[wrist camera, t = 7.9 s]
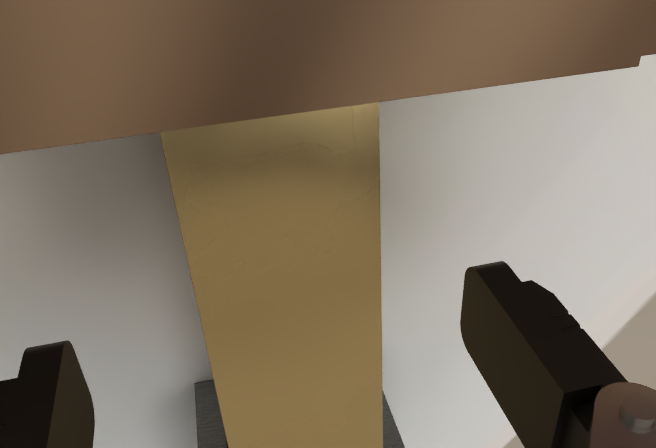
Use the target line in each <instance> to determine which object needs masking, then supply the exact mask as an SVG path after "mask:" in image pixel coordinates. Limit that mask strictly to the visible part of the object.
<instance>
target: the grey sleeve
mask: <svg viewBox="0 0 656 448" xmlns="http://www.w3.org/2000/svg"><path fill="white" fill-rule="evenodd" d="M195 401H196V420H197V440H198V448H229V447H228V442H227V438H226V433H225V429H224V424H223V420H222V415H221V411H220V406H219V401H218V397H217V392H216V388H215V383H214V380H211V381H206V382H201V383H196V384H195ZM382 403H383V448H405V447H404V444H403V442H402V439H401V436H400V434H399V431H398V429H397V426H396V424H395V421H394V418H393V416H392V413H391V411H390V408H389V405H388V403H387V400H386V398H385V395H384V393H383V390H382Z"/></svg>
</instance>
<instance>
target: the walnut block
mask: <svg viewBox="0 0 656 448" xmlns="http://www.w3.org/2000/svg"><path fill="white" fill-rule="evenodd" d="M651 54H656V0H0V154H5V153H12V152H20V151H27V150H34V149H41V148H49V147H56V146H63V145H70V144H78V143H85V142H92V141H99V140H107V139H114V138H121V137H128V136H136V135H143V134H150V133H157V132H165V131H172V130H179V129H187V128H194V127H201V126H208V125H216V124H223V123H230V122H237V121H245V120H252V119H259V118H266V117H274V116H281V115H288V114H295V113H303V112H310V111H317V110H324V109H332V108H339V107H346V106H354V105H361V104H368V103H375V102H383V101H390V100H397V99H404V98H412V97H419V96H426V95H433V94H441V93H448V92H455V91H462V90H470V89H477V88H484V87H492V86H499V85H506V84H513V83H521V82H528V81H535V80H542V79H550V78H557V77H564V76H571V75H579V74H586V73H593V72H600V71H608V70H615V69H622V68H629V67H637V66H639V62H640V57H641V56H644V55H651Z"/></svg>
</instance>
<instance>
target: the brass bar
mask: <svg viewBox="0 0 656 448" xmlns="http://www.w3.org/2000/svg"><path fill="white" fill-rule="evenodd" d="M160 137H161V141H162V146H163V150H164V155H165V160H166V164H167V169H168V173H169V178H170V182H171V187H172V192H173V196H174V201H175V205H176V210H177V214H178V219H179V223H180V228H181V233H182V237H183V242H184V246H185V251H186V255H187V260H188V265H189V269H190V274H191V278H192V283H193V287H194V292H195V296H196V301H197V306H198V310H199V315H200V319H201V324H202V328H203V333H204V338H205V342H206V347H207V351H208V356H209V360H210V365H211V369H212V374H213V379H214V383H215V388H216V392H217V397H218V401H219V406H220V411H221V415H222V420H223V424H224V429H225V433H226V438H227V442H228V447H229V448H383V403H382V322H381V241H380V160H379V102H375V103H368V104H361V105H354V106H346V107H339V108H332V109H324V110H317V111H310V112H303V113H295V114H288V115H281V116H274V117H266V118H259V119H252V120H245V121H237V122H230V123H223V124H216V125H208V126H201V127H194V128H187V129H179V130H172V131H165V132H160Z"/></svg>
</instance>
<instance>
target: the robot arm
mask: <svg viewBox="0 0 656 448" xmlns="http://www.w3.org/2000/svg"><path fill="white" fill-rule="evenodd" d="M460 325H461V333H462V338H463V341H464V344H465V347H466V349H467V351H468V353H469V354H470V356H471V358H472V359H473V361H474V363H475V364H476V366H477V368H478V370H479V371H480V373H481V375H482V376H483V378H484V380H485V381H486V383H487V385H488V386H489V388H490V390H491V391H492V393H493V395H494V397H495V398H496V400H497V402H498V403H499V405H500V407H501V408H502V410H503V412H504V413H505V415H506V417H507V418H508V420H509V422H510V424H511V425H512V427H513V429H514V430H515V432H516V434H517V435H518V437H519V438H520V440H521V442H522V444H523V445H524V447H525V448H656V390H654V389H651V388H649V387H647V386H644V385H641V384H636V383H629V382H628V381H627V380H626V379H625V378H624V377H623V376H622V374H621V373H620V372H619V371H618V370H617V369H616V367H615V366H614V365H613V364H612V363H611V361H610V360H609V359H608V358H607V357H606V356H605V354H604V353H603V352H602V351H601V350H600V348H599V347H598V346H597V345H596V344H595V342H594V341H593V340H592V339H591V338H590V336H589V335H588V334H587V333H586V332H585V331H584V329H581V328H580V325H579V323H578V322H577V321H576V320H575V319H574V318H573V316H572V315H569V314H568V310H567V309H566V308H565V307H564V306H563V305H562V303H561V302H560V301H559V300H558V299H557V297H556V296H555V295H554V294H553V293H551V292H550V291H548V290H547V289H545V288H543V287H542V286H540V285H538V284H537V283H535V282H534V281H532V280H530V281H525V282H521V281H520V279H519V278H518V277H517V276H516V274H515V273H514V272H513V271H512V269H511V268H510V267H509V266H508V265H507V264H506V263H505V262H503V261H500V262H495V263H489V264H484V265H479V266H473V267H469V268H468V269H467V270H466V273H465V280H464V290H463V300H462V310H461V321H460ZM94 426H95V420H94V408H93V402H92V398H91V394H90V392H89V389H88V386H87V383H86V381H85V378H84V375H83V373H82V370H81V367H80V364H79V362H78V359H77V356H76V354H75V351H74V348H73V346H72V344H71V343H70V341H62V342H57V343H51V344H46V345H41V346H35V347H30V348H27V349H26V350H25V351H24V354H23V357H22V362H21V366H20V370H19V374H18V378H15V379H10V380H4V381H0V448H93V437H94Z"/></svg>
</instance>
